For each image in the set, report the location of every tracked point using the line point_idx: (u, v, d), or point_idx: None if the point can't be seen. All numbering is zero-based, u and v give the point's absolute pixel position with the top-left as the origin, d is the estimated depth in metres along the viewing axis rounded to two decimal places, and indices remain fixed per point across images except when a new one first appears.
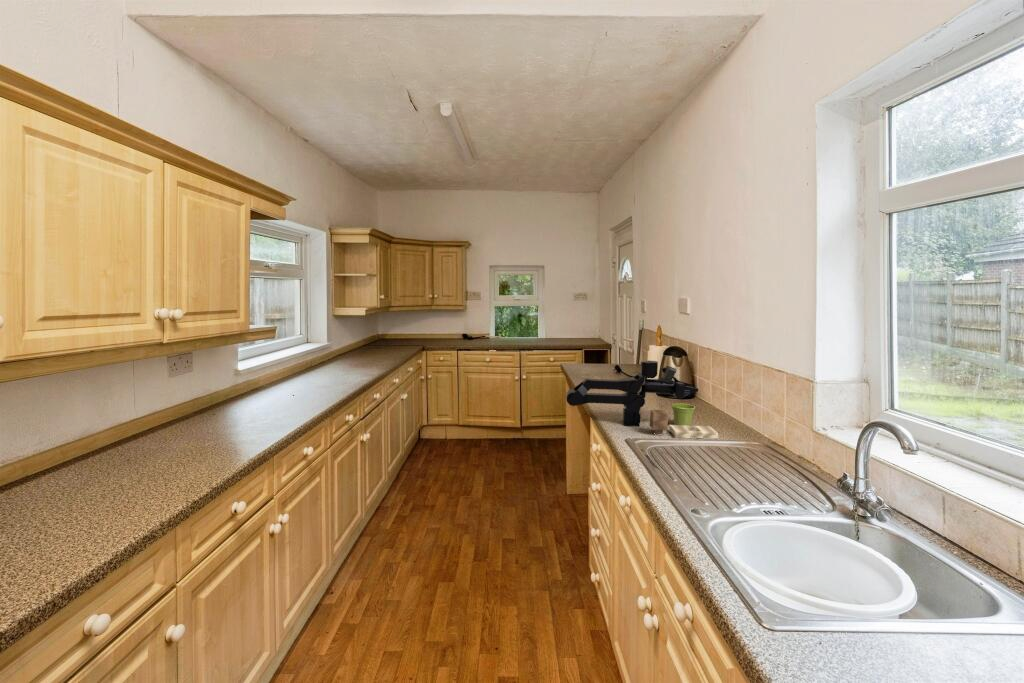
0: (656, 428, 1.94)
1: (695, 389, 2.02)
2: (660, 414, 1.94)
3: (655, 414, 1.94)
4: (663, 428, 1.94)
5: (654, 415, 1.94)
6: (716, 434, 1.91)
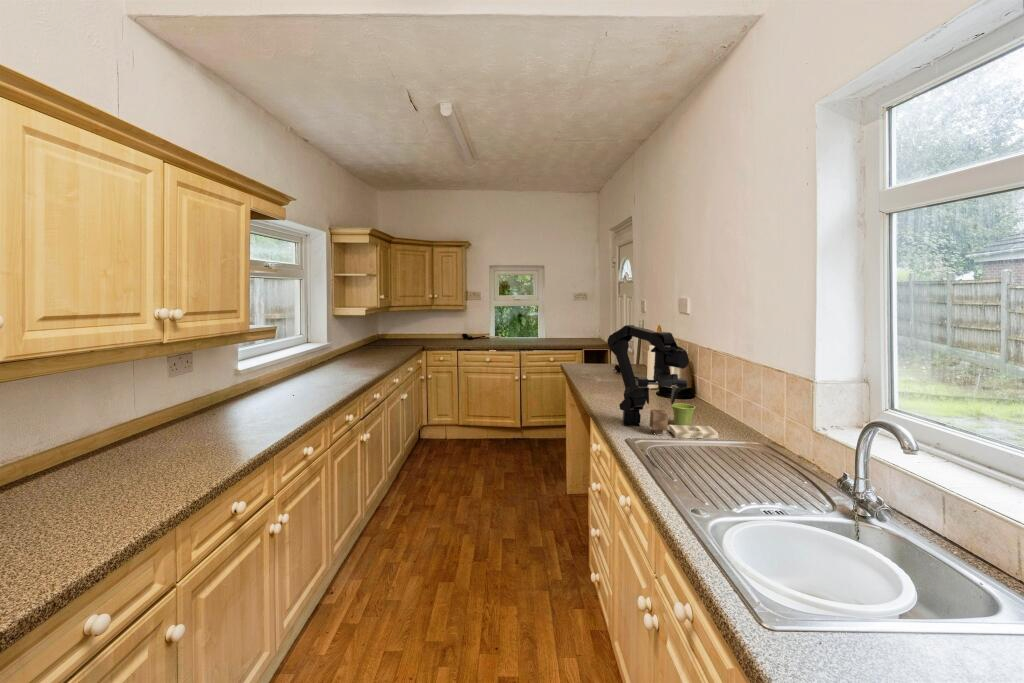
0: (656, 428, 1.94)
1: (646, 400, 1.96)
2: (660, 414, 1.94)
3: (655, 414, 1.94)
4: (663, 428, 1.94)
5: (654, 415, 1.94)
6: (716, 434, 1.91)
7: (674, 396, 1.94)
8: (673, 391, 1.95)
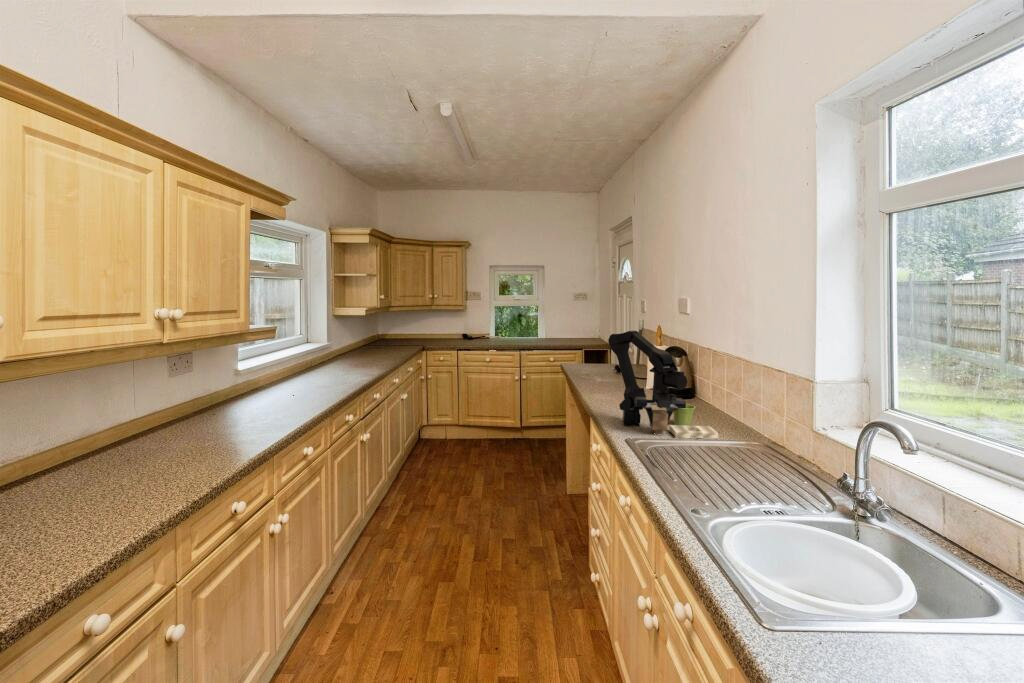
0: (656, 428, 1.94)
1: (649, 420, 1.97)
2: (660, 414, 1.94)
3: (655, 414, 1.94)
4: (663, 428, 1.94)
5: (654, 415, 1.94)
6: (716, 434, 1.91)
7: (668, 416, 1.95)
8: (667, 411, 1.96)
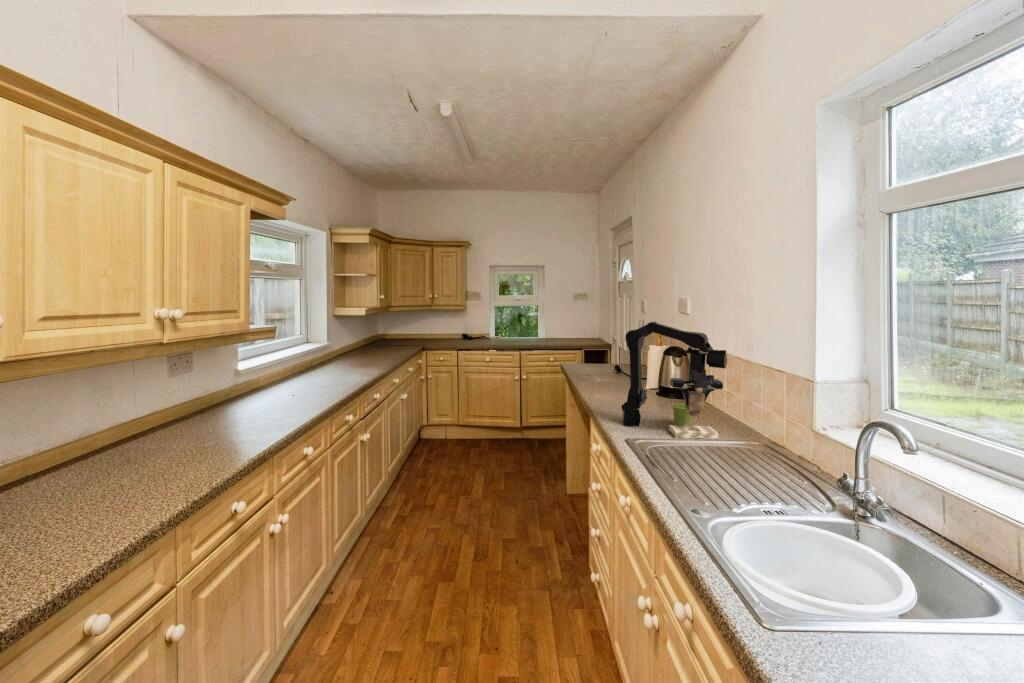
0: (693, 409, 1.92)
1: (685, 401, 1.95)
2: (697, 395, 1.92)
3: (692, 395, 1.92)
4: (700, 409, 1.92)
5: (691, 396, 1.92)
6: (716, 434, 1.91)
7: (705, 397, 1.93)
8: (704, 392, 1.94)
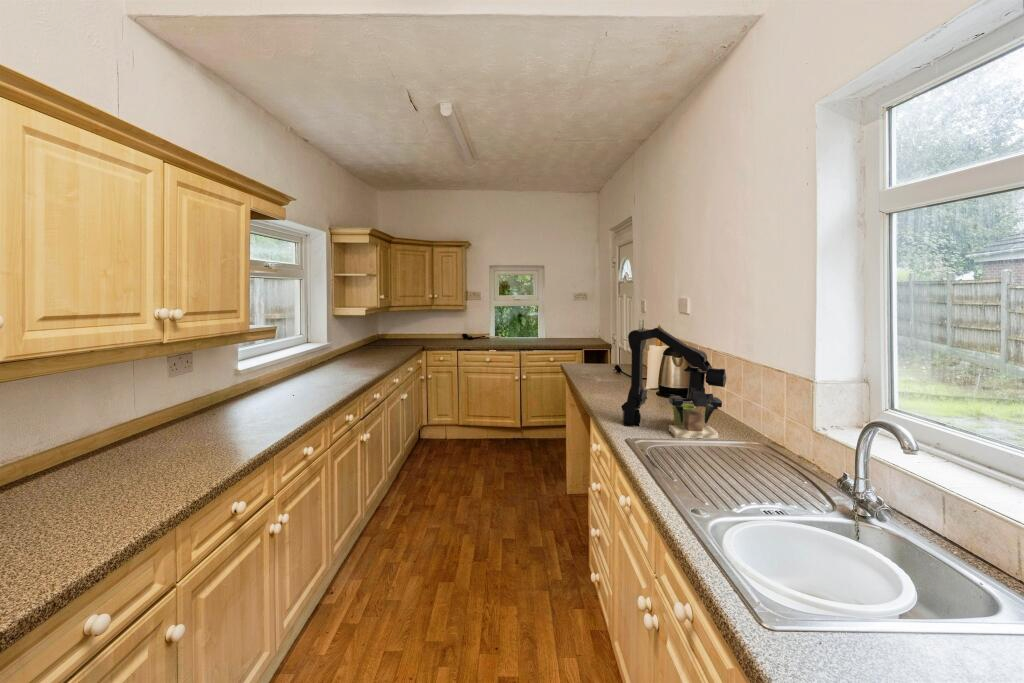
0: (691, 429, 1.93)
1: (680, 419, 1.96)
2: (696, 415, 1.93)
3: (691, 415, 1.93)
4: (699, 429, 1.93)
5: (690, 416, 1.93)
6: (716, 434, 1.91)
7: (708, 415, 1.94)
8: (707, 410, 1.95)
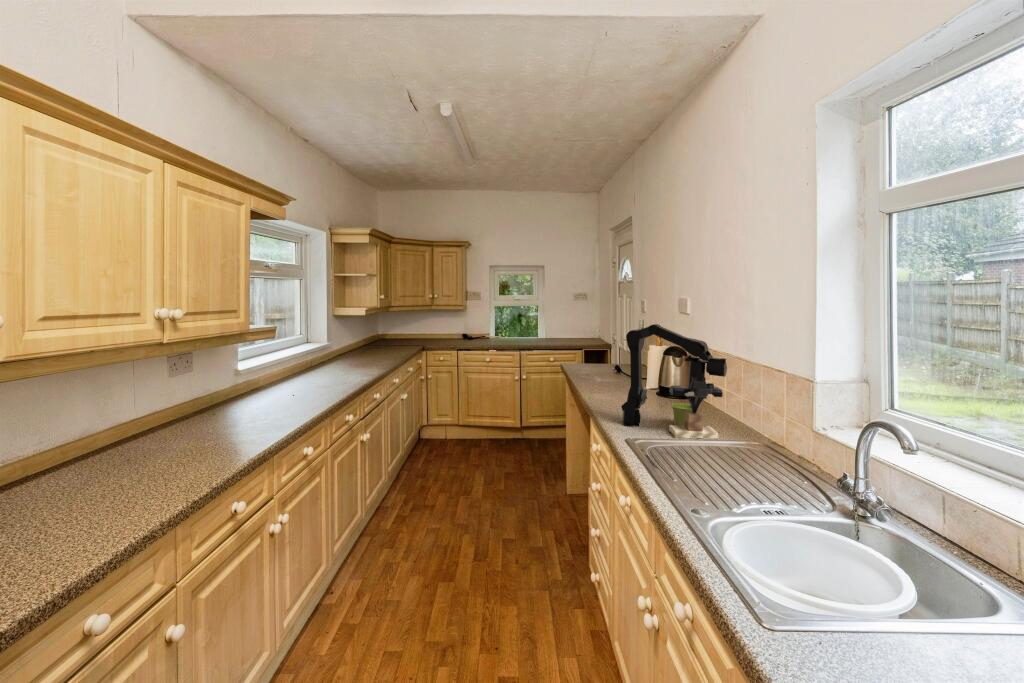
0: (691, 429, 1.93)
1: (692, 409, 1.95)
2: (696, 415, 1.93)
3: (691, 415, 1.93)
4: (699, 429, 1.93)
5: (690, 416, 1.93)
6: (716, 434, 1.91)
7: (697, 404, 1.94)
8: (696, 399, 1.95)
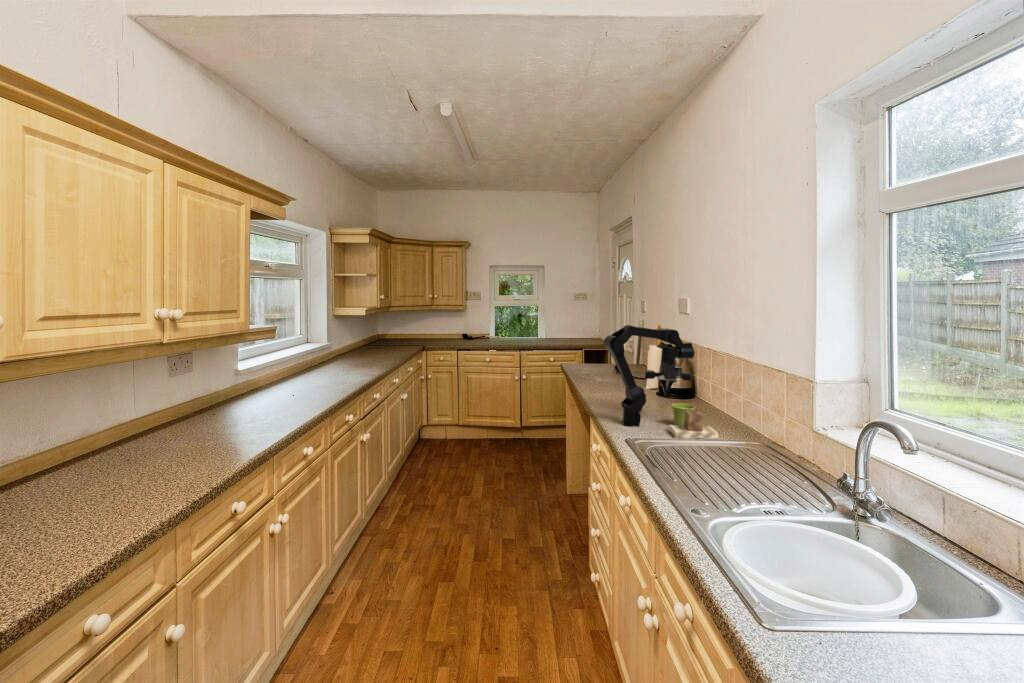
0: (691, 429, 1.93)
1: (664, 392, 2.12)
2: (696, 415, 1.93)
3: (691, 415, 1.93)
4: (699, 429, 1.93)
5: (690, 416, 1.93)
6: (716, 434, 1.91)
7: (668, 387, 2.10)
8: (667, 383, 2.11)
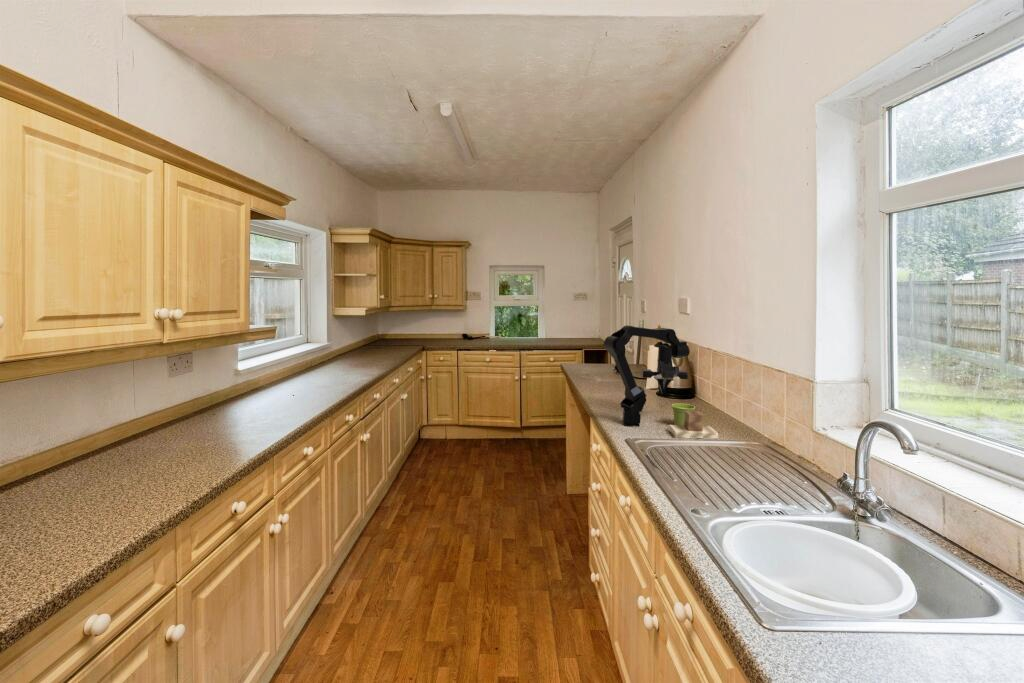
0: (691, 429, 1.93)
1: (661, 391, 2.14)
2: (696, 415, 1.93)
3: (691, 415, 1.93)
4: (699, 429, 1.93)
5: (690, 416, 1.93)
6: (716, 434, 1.91)
7: (665, 386, 2.12)
8: (664, 382, 2.13)
